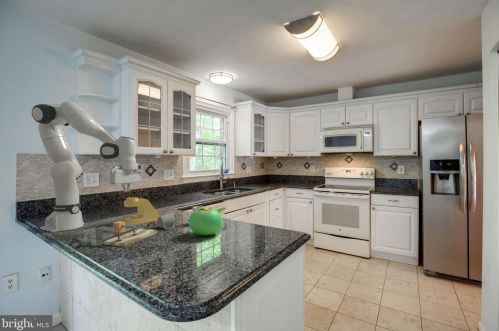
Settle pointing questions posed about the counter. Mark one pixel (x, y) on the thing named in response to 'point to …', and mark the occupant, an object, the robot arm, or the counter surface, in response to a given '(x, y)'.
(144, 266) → the counter surface
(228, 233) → the counter surface
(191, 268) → the counter surface
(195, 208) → the mug
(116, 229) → the sliding leg
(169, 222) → the ceramic mug
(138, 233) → the bolt plate
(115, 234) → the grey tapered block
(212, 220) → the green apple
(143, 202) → the clamp
